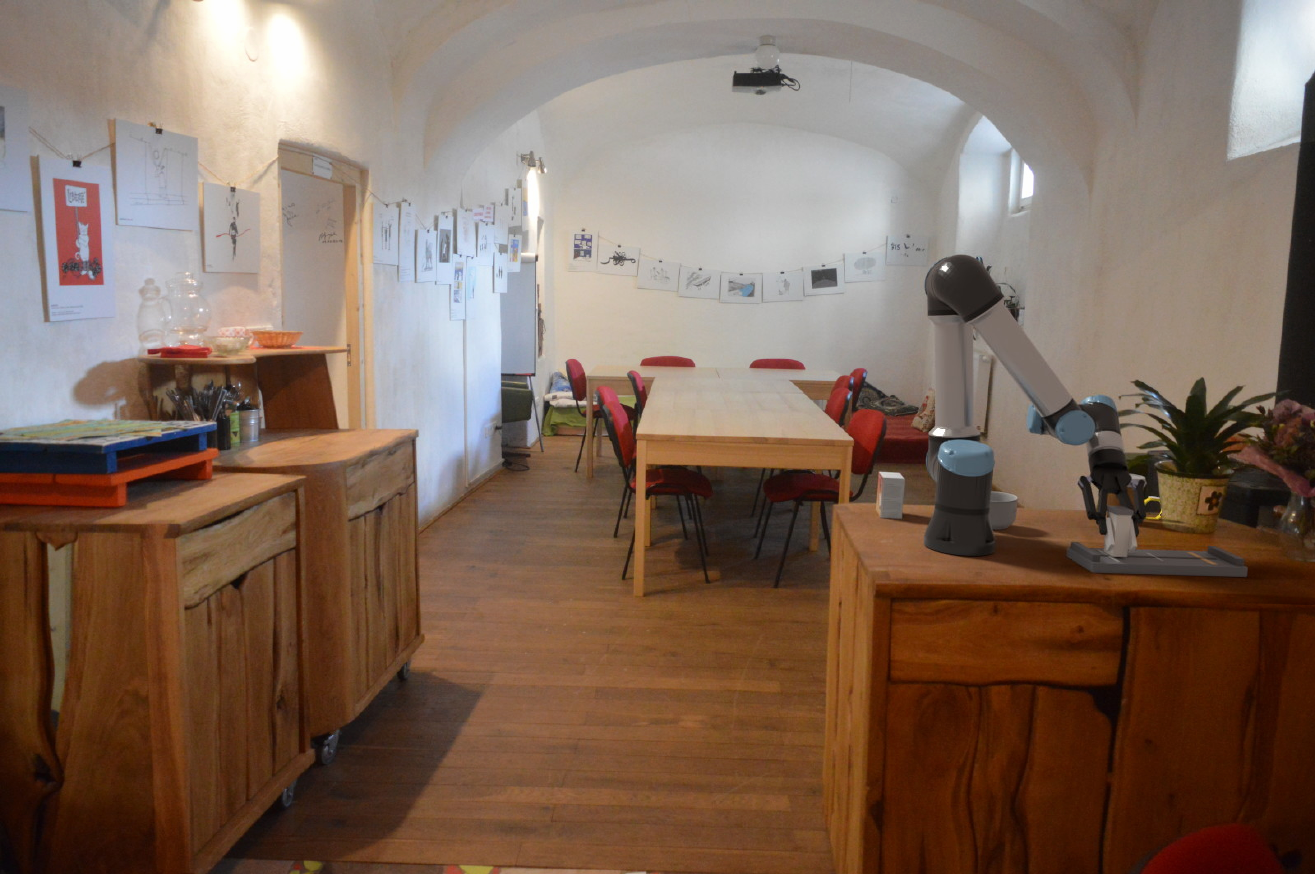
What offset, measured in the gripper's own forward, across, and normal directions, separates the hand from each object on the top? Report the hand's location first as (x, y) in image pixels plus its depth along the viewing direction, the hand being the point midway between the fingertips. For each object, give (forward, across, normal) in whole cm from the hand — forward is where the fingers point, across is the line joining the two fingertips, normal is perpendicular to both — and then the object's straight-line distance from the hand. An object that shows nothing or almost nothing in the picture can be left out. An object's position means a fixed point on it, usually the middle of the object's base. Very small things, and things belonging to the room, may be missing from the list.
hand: (1122, 548), depth 189 cm
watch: (-34, -24, -42) cm, 59 cm away
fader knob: (-1, 0, -4) cm, 4 cm away
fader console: (0, -8, -7) cm, 11 cm away
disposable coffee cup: (-30, -15, -38) cm, 51 cm away
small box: (-23, +44, -30) cm, 58 cm away
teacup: (-20, +20, -28) cm, 40 cm away
